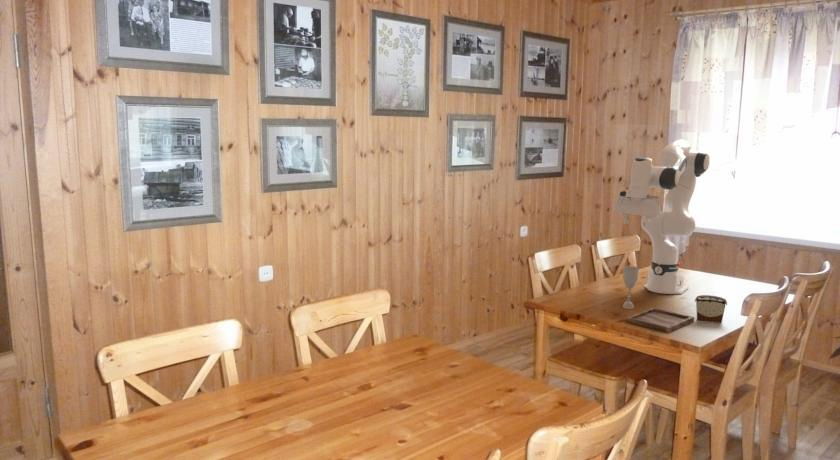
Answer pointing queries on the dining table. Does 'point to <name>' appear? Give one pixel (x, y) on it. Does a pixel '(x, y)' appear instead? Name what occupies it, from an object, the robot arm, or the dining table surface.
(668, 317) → the serving tray
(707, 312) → the food container
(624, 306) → the chalice
